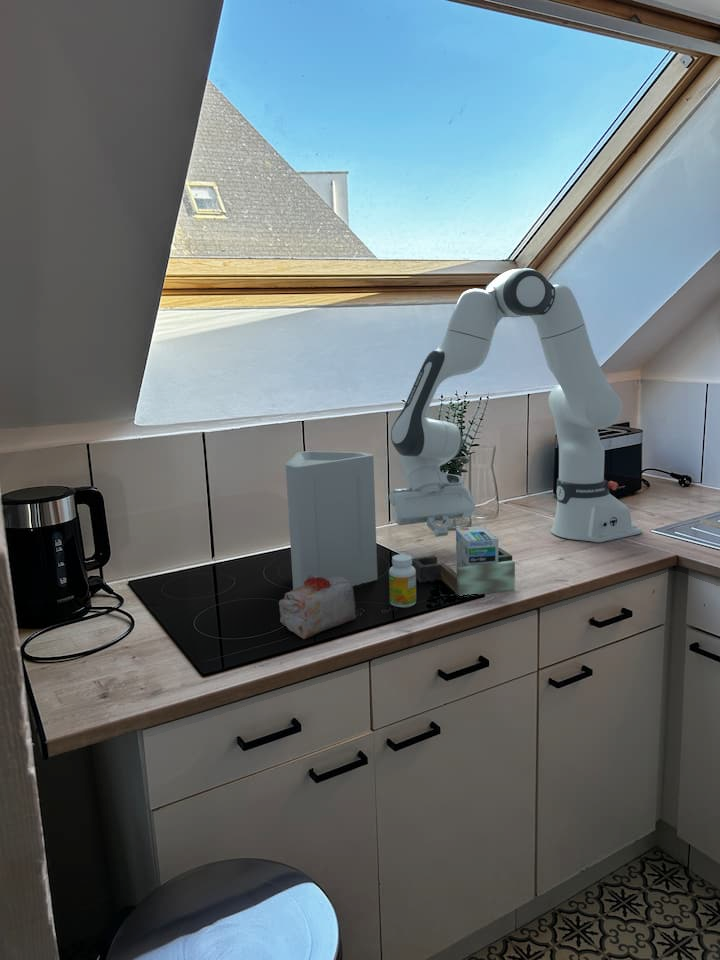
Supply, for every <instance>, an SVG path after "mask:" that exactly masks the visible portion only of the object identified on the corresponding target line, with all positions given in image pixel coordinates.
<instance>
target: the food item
mask: <svg viewBox="0 0 720 960" xmlns="http://www.w3.org/2000/svg"><path fill="white" fill-rule="evenodd" d="M309 575H310V574H309ZM309 575H308V580H305V581H306V582H305V581H304V586H301V587H299V588H296V589H292V590H290V591H288V592H286V593H284V598H282V599H280V600H279V602H278V607H279V614H280V618H279V619H280V620H279V621H280V623H282V625H283V626H286V628H287V629H288V630H289V631H290V632H292V633H294V634H295V635H296V636H297V637H300V638H301V639H303V640H305V639H308V638H310V637H313V636H315V635H317V634H319V633H321V632H323V631H327V630H329V629H332V628H335V627H338V626H341V625H344V624H345V623H348V622H351V621H354V620H356V619H357V615H356V609H357V608H356V602H355V594H354V586H352V583H351V582H349V581H347V580H346V579H345V578H343V577H340V576H334V577H331V578H328V579H325V578H323V577H320V578H319V577H317V578H314V577H312V576H311V575H310V576H309Z"/></svg>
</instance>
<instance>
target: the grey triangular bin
mask: <svg viewBox="0 0 720 960" xmlns="http://www.w3.org/2000/svg"><path fill="white" fill-rule="evenodd" d="M285 475H286V492H287V493H286V494H287V509H288V510H287V512H288V523H289V524H288V525H289V540H290V541H289V543H290V557H291V559H290V560H291V575H292V588H293V589H296V588H299V587H301V586H304V581H305V580H308V575H309V574H310V575H311V576H312V577H314V578H317V577H319V578H320V577H323V578H325V579H328V578H331V577H334V576H340V577H343V578H345V579H346V580H347V581H349V582H351V583H352V587H355V585H356V586H359V585H362V583H363V584H366V583H370V582H373V581H374V580H375V581H377V580H378V578H379V577H378V558H377V557H378V555H377V553H378V552H377V549H378V548H377V526H376V499H375V497H376V496H375V495H376V493H375V465H374V454H371V453H367V452H360V451H359V452H356V451H355V452H354V451H325V450H323V451H322V450H321V451H319V450H315V451H314V450H307V451H300V452H299V451H298V452H296V453H295V454H294V455H293V456H292V457H291V458H290V459H289V460H288V461H286V463H285ZM310 575H309V576H310ZM305 582H306V581H305ZM293 589H292V590H293Z"/></svg>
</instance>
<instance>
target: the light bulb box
mask: <svg viewBox="0 0 720 960" xmlns="http://www.w3.org/2000/svg"><path fill="white" fill-rule="evenodd" d="M455 541H456V542H455V549H456V554H455V555H456V559H455V560H456V569H457V568H458V567H465V566H473V565H481V564H488V563H496V562H498V548H499V538H498V537H496V536H495V535H494V534H492V532H491V531H489V530H488V529H487V528H486V526H483V525H481V526H467V527H466V526H464V527H463V526H462V527H461V526H459V527H455Z"/></svg>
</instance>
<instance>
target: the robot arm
mask: <svg viewBox="0 0 720 960" xmlns="http://www.w3.org/2000/svg"><path fill="white" fill-rule="evenodd" d="M576 299H577V298H576V297H575V295H574V293H573V292H572V290H571V288H570V287H569V286H567V285H564V284H552V283H551V282H550V281H549V280H548V279H547V278H546V277H545V276H544V275H543V274H542V273H541V272H540V271H538V270H536V269H533V268H528V267H525V268H516V269H509V270H508V271H505V272H503V273H499V274H498V275H496V276H495V277H493V278H492V279H491V280H490V281H489V282H488V284H486V286H484V288H483V289H481V288H472V289H468V290H466V291H464V292H463V293H461V295H460V297H459V298H458V301H457V303H456V305H455V307H454V309H453V312H452V314H451V316H450V319H449V322H448V326H447V329H446V332H445V335H444V337H443V339H442V341H441V342H440V344H439V345H438V347H437V348H436V349H434V350H432V351H431V352H429V354H427V356H426V358H425V359H424V361H423V363H422V365H421V368H420V370H419V372H418V373H417V376H416V378H415V381H414V383H413V386H412V388H411V390H410V392H409V395H408V397H407V399H406V401H405V403H404V406H403V408H402V409H401V412H400V414H399V415H398V416H397V418H396V420H395V421H394V423H393V424H392V427H391V432H390V440H391V443H392V445H393V447H394V448H395V449H394V450H396V451H397V453H398V454H399V459H400V461H401V462H400V463H401V465H402V468H403V470H404V472H405V473H406V483H407V486H408V487H406V488H401V489H400V488H398V489H396V488H395V489H393V491H391V492H389V495H388V500H389V502H390V504H391V505H392V510H393V511H392V512H393V513H392V514H393V519H394V522H395V523H396V524H397V525H398V526H405V525H406V526H407V525H414V524H415V525H416V524H423V523H426V526H427V527H428V528H429V529H430V530H431V531H432V532H433V534H434V537H435V538H437V537H444V536H446V537H447V536H448V534H449V530H448V525H449V521H451V520H459V519H467V518H471V517H472V516H473V515H474V513H475V511H476V509H477V508H476V504H475V501H474V498H473V496H472V494H471V492H470V490H469V488H467V487H466V486H465V485H464V479H463V476H461V475H457V474H451V473H447V472H444V471H441V466H444V465H445V464H447V463H449V462H450V461H452V459H454V458H455V457H456V456H457V455H459V453H460V452H461V449H462V446H463V435H462V432H461V430H460V428H459V426H458V425H457V424H456V423H453V422H449V421H446V420H442V419H441V420H440V419H434V418H431V417H430V418H429V417H426V415H427V412H428V411H429V408H430V406H431V403H432V400H433V399H434V396H435V394H436V392H437V389H438V388H439V386H440V385H441V384H442V382H444V381H446V380H447V379H449V378H452V377H454V376H460V375H464V374H465V375H466V374H468V373H469V374H470V373H471V372H474V371H476V370H477V369H479V368H480V367H481V366H482V365H484V363H485V361H486V360H487V357H488V355H489V351H490V348H491V344H492V341H493V338H494V334H495V330H496V328H497V325H498V324H499V323H500V321H501V320H502V319H503V318H521V317H530V318H531V319H532V321H533V322H534V325H535V326H536V331H537V334H538V339H539V341H540V344H541V348H542V350H543V354H544V358H545V361H546V364H547V367H548V369H549V370H550V372H551V373H552V374H553V376H554V378H555V380H556V382H557V383H558V384H557V385H555V386H554V387H553V388H552V390H551V391H550V393H549V396H548V401H547V402H548V407H549V409H550V411H551V413H552V416H553V420H554V421H553V422H554V428H555V432H556V437H557V443H558V478H557V479H556V501H557V503H556V510H555V515H554V520H553V523H552V527H551V529H550V532H551V533H552V534H553V535H555V536H557V537H561V538H563V539H568V540H577V541H586V542H588V541H589V542H593V543H603V542H607V541H608V542H609V541H612V540H617V539H621V538H626V537H631V536H635V535H639V534H641V533H642V531H641V528H640V526H638V525H636V524H635V523H633V522H632V514H631V511H630V509H629V507H628V506H627V505H626V504H624V503H623V502H622V501H620V500H619V499H617V498H616V497H615V496H614V495H612V494H611V493H610V489H611V490H612V491H616V490H617V488H618V487H619V484H618V483H617V482H616V481H612V480H610V481H608V480H607V479H605V448H604V445H603V443H602V441H601V439H600V434H599V431H598V430H602V429H607V428H610V427H611V426H613V425H614V424H616V423H617V421H618V419H620V417H621V414H622V410H623V403H622V400H621V398H620V396H619V395H618V393H616V392H615V390H614V389H613V388H612V386H611V384H610V383H609V381H608V379H607V378H606V375H605V373H604V371H603V369H602V367H601V366H600V364H599V362H598V360H597V358H596V355H595V353H594V350H593V347H592V343H591V341H590V338H589V334H588V330H587V327H586V323H585V320H584V317H583V314H582V311H581V308H580V306H579V303H578V301H577V300H576ZM435 522H441V523H440V524H441V525H442V526H438V525H437V524H435Z"/></svg>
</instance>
